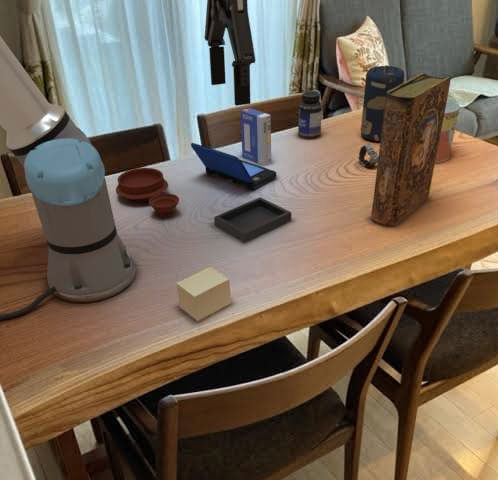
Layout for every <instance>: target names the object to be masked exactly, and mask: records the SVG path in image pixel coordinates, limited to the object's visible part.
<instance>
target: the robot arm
mask: <svg viewBox="0 0 498 480" xmlns="http://www.w3.org/2000/svg"><path fill="white" fill-rule="evenodd" d="M248 7H249V6H248V0H207V1H206V13H205V27H204V40H205V41H206V42H207V46H208V54H209V67H210V69H209V70H210V85H211V86H219V85H226V83H227V82H226V81H227V80H226V60H225V59H226V58H225V57H226V56H225V47H224V46H226V41H225V38H224V36H225V33H226V31H227V34H228V38H229V44H230V46H231V51H232V55H233V61H232V63H231V67H233V69H232V70H233V71H232V72H233V95H234V97H233V98H234V106H236V107H237V106H245V105H251V65H252V64H256V54H255V48H254V43H253V35H252V30H251V24H250V23H251V22H250V16H249V8H248ZM0 126H1V127H2V128H3V130H4V131H5V132H6V140H5V145H6V147H7V149H8V150H9V151H10V152H11V153H12V154H13V156H14V157H15V158H16V159H17V161H18V162H19V163H20V164H21V166H22V167H23V168H24V169H23V170H24V178H25V182H26V185H27V187H28V188H29V190H30V193H31V196H32V199H33V202H34V205H35V209H36V212H37V215H38V218H39V221H40V224H41V227H42V231H43V234H44V237H45V241H46V243H47V247H48V253H47V268H46V269H47V270H46V278H47V284H48V286H49V289H48V290H46V291H45V292H43V293H42V294H40V295H39V296H38V297H37V298H35V299H34V300H33V301H32V302H31V303H30V304H29V305H27V306H25V307H23V308H21V309H18V310H15V311H12V312H8V313H3V314H0V321H4V320H9V319H12V318H17V317H19V316H22V315H25V314H28V313H29V312H31V311H32V310H34V309H35V308H36V307H37V306H38V305H39V304H41V302H43V301H44V300H45V299H47V298H48V297H49V296H51V295H52V294H53V295H54V296H55V297H57V298H59V299H60V300H63V301H65V302H71V303H93V302H98V301H102V300H105V299H108V298H111V297H113V296H116V295H118V294H120V293H121V292H122V291H124V290H125V289H127V288H128V287H129V286H130V285H131V284H132V282H133V281H134V279H135V276H136V273H137V272H136V266H135V261H134V259H133V257H132V255H131V253H130V250H129V248H128V246H127V244H126V243H124V242H123V240H122V239H121V237H120V235H119V234H118V232H117V231H118V230H117V227H116V222H115V217H114V213H113V208H112V204H111V199H110V194H109V190H108V186H107V181H106V170H105V165H104V162H103V161H102V159H101V155H100V153H99V152H98V150H97V148H96V147H94V146H93V145H92V142H91V140H90V138H89V137H88V136H87V134H85V132H84V131H82V130H81V128H79V127H78V126H77V125H76V124H75V122H74V120H73V119H72V118H71V117H70V115H69V114H68V113H67V111H66V110H65V109H64V107H62V106H61V105H58V104H53V103H50V102H49V101H48V100H47V98H46V97H45V95H43V93H42V91H41V90H40V89H39V87H38V86H37V85H36V83H35V82H34V80H33V79H32V78H31V76H30V75H29V73H28V72H27V71H26V69H25V68H24V67H23V66H22V64H21V63H20V61H19V60H18V58H17V57H16V56H15V54H14V53H13V52H12V50H11V49H10V47H9V46H8V45H7V43H6V41H5V40H4V39H3V38H2V36H1V35H0Z"/></svg>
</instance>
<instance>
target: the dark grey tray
mask: <svg viewBox="0 0 498 480" xmlns="http://www.w3.org/2000/svg"><path fill="white" fill-rule="evenodd" d="M213 219H214V226H215V227H217V228H219V229H221V230H222V231H224V232H225V233H226V234H228V235H231V236H233V237H234V238H236V239H238V240H239V241H241V242H242V243H249V242H250V241H252V240H254V239H256V238H258V237H260V236H262V235H265V234H266V233H268V232H271V231H273V230H275V229H277V228H279V227H281V226H284V225H285V224H288V223H290V222H292V212H291V211H290V210H289V209H288V210H287V209H285V208H284V207H282V206H279V205H277V204H275V203H274V202H271V201H269V200H267V199H265V198H263V197H261V196H260V197H258V198H257V197H256V198H255V199H252V200H250V201H247V202H245V203H243V204H241V205H238V206H236V207H233V208H231V209H229V210H227V211H224V212H222V213H220V214H217V215H215V216H214V217H213Z"/></svg>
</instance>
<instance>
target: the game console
mask: <svg viewBox="0 0 498 480" xmlns="http://www.w3.org/2000/svg"><path fill="white" fill-rule="evenodd" d="M190 147H191V149H192V150H193V152H194V153H195V154H196V156H197V157H198V159H199V160H200V161H201V163H202V165H203V166H204V167H205V173H206V175H210V176H214V177H216V178H219V179H222V180H225V181H230V182H231V183H232V184H236V185H238V186H241V187H244V188H246V189H249V190H255V189H256V188H258V187H260V186H262V185H263V184H266V183H268V182H269V181H271V180H274V179H275V178H276V177H277V171H275V170H273V169H271V168H267V167H265V166H262V165H258V164H255V163H252V162H249V161H246V160H243V159H240V158H239V157H238V156H235V155H233V154H230V153H227V152H224V151H221V150H217V149H214V148H211V147H208V146H205V145H201V144H199V143H195V142H191V143H190Z"/></svg>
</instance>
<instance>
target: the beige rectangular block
mask: <svg viewBox="0 0 498 480" xmlns="http://www.w3.org/2000/svg"><path fill="white" fill-rule="evenodd" d="M176 290H177V291H176V292H177V297H178V305H179V308H180V309H181V310H182V311H184V312H185V313H186V314H188V315H189V316H190V317H191V318H193V319H194V320H195V321H196V322H199V321H201V320H203V319H205V318H206V317H209V316H210V315H212V314H214V313H216V312H218V311H219V310H221V309H224V308H225V307H227V306H229V305H230V304H231V305H232V298H231V297H232V296H231V284H230V278H229V277H227V276H225V275H224V274H223V273H221V272H220V271H218V270H216V269H215V268H214V267H212V266H209V267H207V268H205V269H202V270H201V271H199V272H196V273H194V274H193V275H190V276H188V277H186V278H184V279H182V280H180V281H178V282H176Z"/></svg>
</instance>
